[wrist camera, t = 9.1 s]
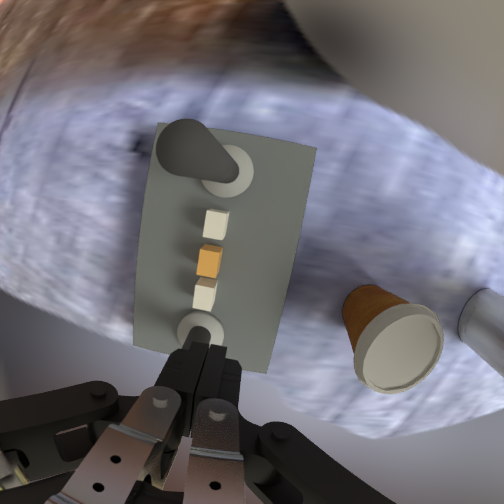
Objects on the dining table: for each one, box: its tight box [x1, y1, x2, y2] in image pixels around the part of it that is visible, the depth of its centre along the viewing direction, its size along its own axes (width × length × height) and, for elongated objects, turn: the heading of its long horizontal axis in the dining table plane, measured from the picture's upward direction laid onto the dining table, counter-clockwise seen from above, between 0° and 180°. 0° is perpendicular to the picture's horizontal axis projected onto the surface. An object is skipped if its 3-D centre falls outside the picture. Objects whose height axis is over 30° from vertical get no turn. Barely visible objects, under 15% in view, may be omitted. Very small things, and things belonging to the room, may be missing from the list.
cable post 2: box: [177, 311, 224, 350], centre depth 23 cm, size 5×5×17 cm
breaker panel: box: [133, 123, 317, 374], centre depth 30 cm, size 16×25×7 cm, turn 169°
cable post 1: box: [156, 119, 254, 198], centre depth 20 cm, size 5×5×17 cm
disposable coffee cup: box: [342, 285, 444, 394], centre depth 29 cm, size 10×10×12 cm
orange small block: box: [196, 244, 223, 278], centre depth 28 cm, size 2×2×3 cm
